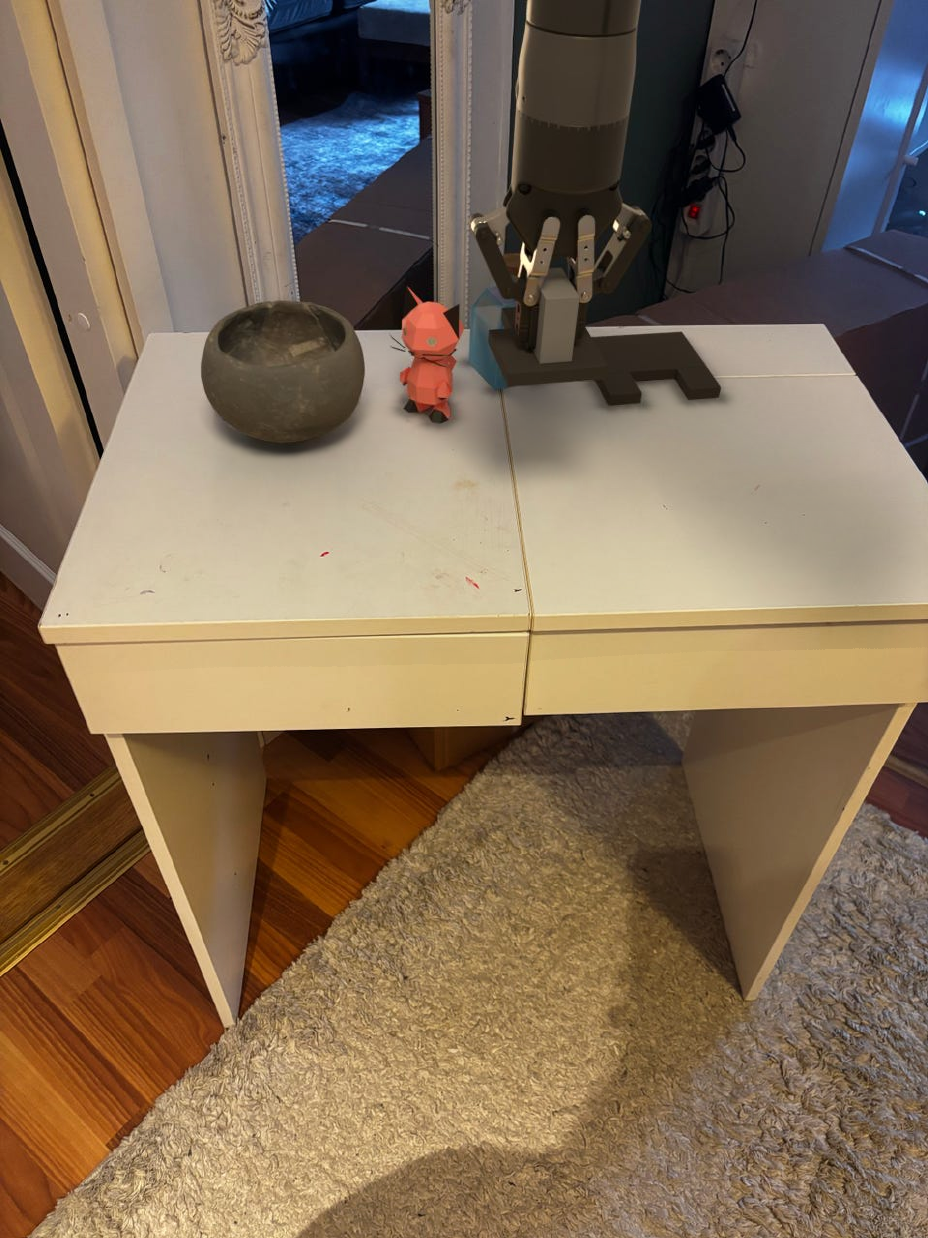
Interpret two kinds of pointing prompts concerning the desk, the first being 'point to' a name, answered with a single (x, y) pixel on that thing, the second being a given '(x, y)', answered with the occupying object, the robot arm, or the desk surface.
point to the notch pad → (652, 366)
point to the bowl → (283, 370)
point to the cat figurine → (429, 354)
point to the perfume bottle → (489, 327)
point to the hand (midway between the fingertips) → (548, 342)
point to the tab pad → (542, 374)
